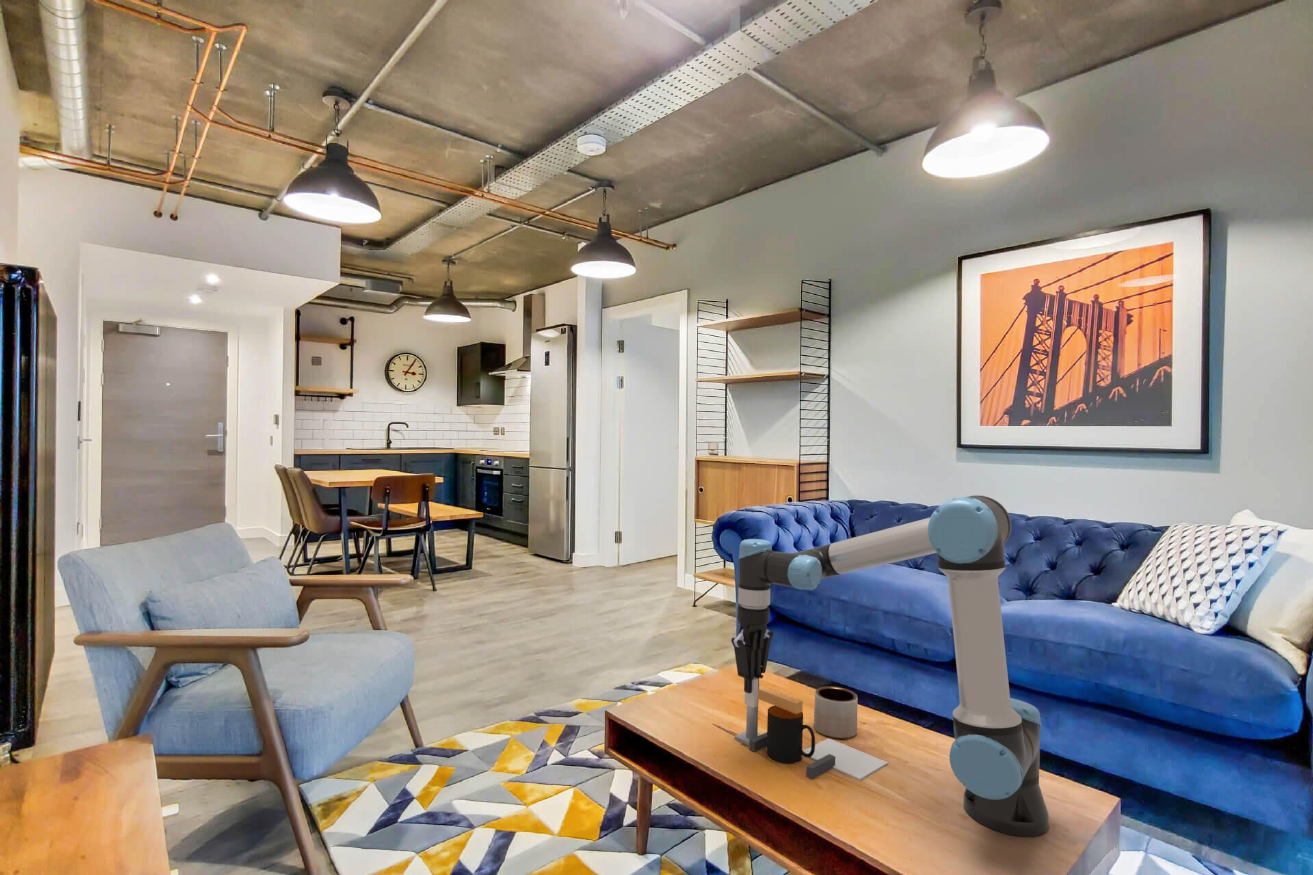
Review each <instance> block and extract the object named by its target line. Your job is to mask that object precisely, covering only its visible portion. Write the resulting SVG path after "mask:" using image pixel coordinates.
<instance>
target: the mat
mask: <svg viewBox="0 0 1313 875" xmlns="http://www.w3.org/2000/svg"><path fill="white" fill-rule="evenodd" d="M802 750H803V752H804V753H806V754H809V753H810V751H811V746H810V747H808V748H805V749H802ZM828 754H831V755H833V756H835V766H833V770H836V771H838V772H839V773H842V774H845V775H847V776H849V777H851V778H852V779H855V780H858V781H862V780H863V779H866V778H867V777H869V776H871V775H873V773H875V772H877V771H878V770H880V769H883V768H884V767H885V766H887V765H888V764H889V762H887V761H886V760H882V759H880V758H879V757H875V756H873V755H871V754H868V753H866V752H864V751H860V750H859V749H856V748H853V747H851V746H848V745H847V744H844V743H842V742H839V741H837V740H834V739H833V738H830V737H828V738H826V739H824V740H822V741H820V742H818V743H815V751H814V754H813V755H812V756H811V757H807V758H809V759H811V760H814V762H815V761H817V760H819V759H821V758H823V757H825V756H826V755H828Z"/></svg>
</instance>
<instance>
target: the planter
mask: <svg viewBox="0 0 1313 875" xmlns="http://www.w3.org/2000/svg"><path fill="white" fill-rule="evenodd" d="M813 728H814V730H816V732H818V733H819V734H820V735H822V736H824V737H828V738H830V739H836V740H845V739H851V738H853V737H854V736H856V735H857V733H858V694H856V693H855V692H854V691H853V690H850V689H848V688H843V687H839V686H822V687H818V688H816V689H815V691H814V711H813Z"/></svg>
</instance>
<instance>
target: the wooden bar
mask: <svg viewBox="0 0 1313 875" xmlns="http://www.w3.org/2000/svg"><path fill="white" fill-rule="evenodd" d="M758 700H760V701H762V702H765V703H767V704H769V705H771V706H777V707H780V708H782V709H785V710H787V711H790V712H792V713H795V714H798V713H800V712H803V708H804V707H803V706H804V705H803V704H804V701H803V700H801V699H799V698H796V697H793V696H789V695H787V694H784V693H782V692H780V691H777V690H775V689H772V688H768V687H766V686H763V685H761V684H759V689H758Z"/></svg>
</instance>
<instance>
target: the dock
mask: <svg viewBox="0 0 1313 875" xmlns="http://www.w3.org/2000/svg"><path fill="white" fill-rule="evenodd" d="M745 725H746V727H745V728H746V730H745V731H743V732H741V733H738V734H736V735H734V740H736V741H737V742H740V743H742V744H744V745H747V746H748V750H749V751H751V752H754V753H755V752H758V751H760V750H762V749H764V748H765V749H766V748H767V731H766V732H764V733H762V734H761V733H760V732H758V728H759V726H758V725H759V705H758V706H757V707H754V708H753V707H750V706H748V705H746V724H745ZM833 766H835V756H833V755H831V754H828V755H826V756H825V757H823V758H821V759H819V760H817V761H815V760H814V761H813V762H811V763H809V764H807V765H805V767H806V768H805V770H806V771H805V777H806V778H808V779H810V780H814V779H816V778H818V777H820V776H822V775H823V774H825V773H827V772H829V771H831V770H832V769H833ZM833 770H834V769H833Z"/></svg>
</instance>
